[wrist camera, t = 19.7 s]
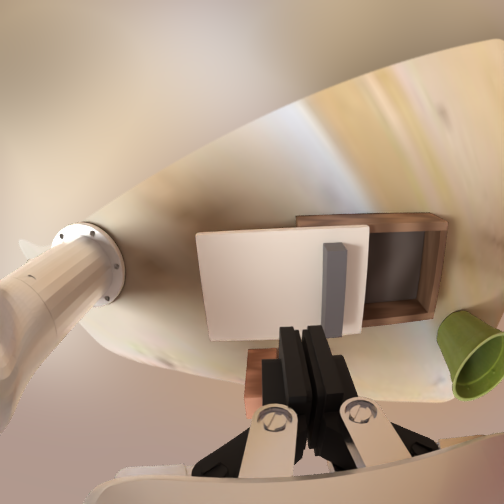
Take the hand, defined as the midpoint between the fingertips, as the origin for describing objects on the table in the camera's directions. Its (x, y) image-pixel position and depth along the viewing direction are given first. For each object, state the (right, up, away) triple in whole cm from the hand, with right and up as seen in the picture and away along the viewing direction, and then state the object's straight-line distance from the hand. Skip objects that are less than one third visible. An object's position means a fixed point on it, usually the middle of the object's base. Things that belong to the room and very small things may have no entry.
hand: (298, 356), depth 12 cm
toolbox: (+13, +3, +27) cm, 30 cm away
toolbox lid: (+2, +1, +23) cm, 23 cm away
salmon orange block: (0, -12, +33) cm, 35 cm away
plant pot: (+31, -8, +30) cm, 44 cm away
